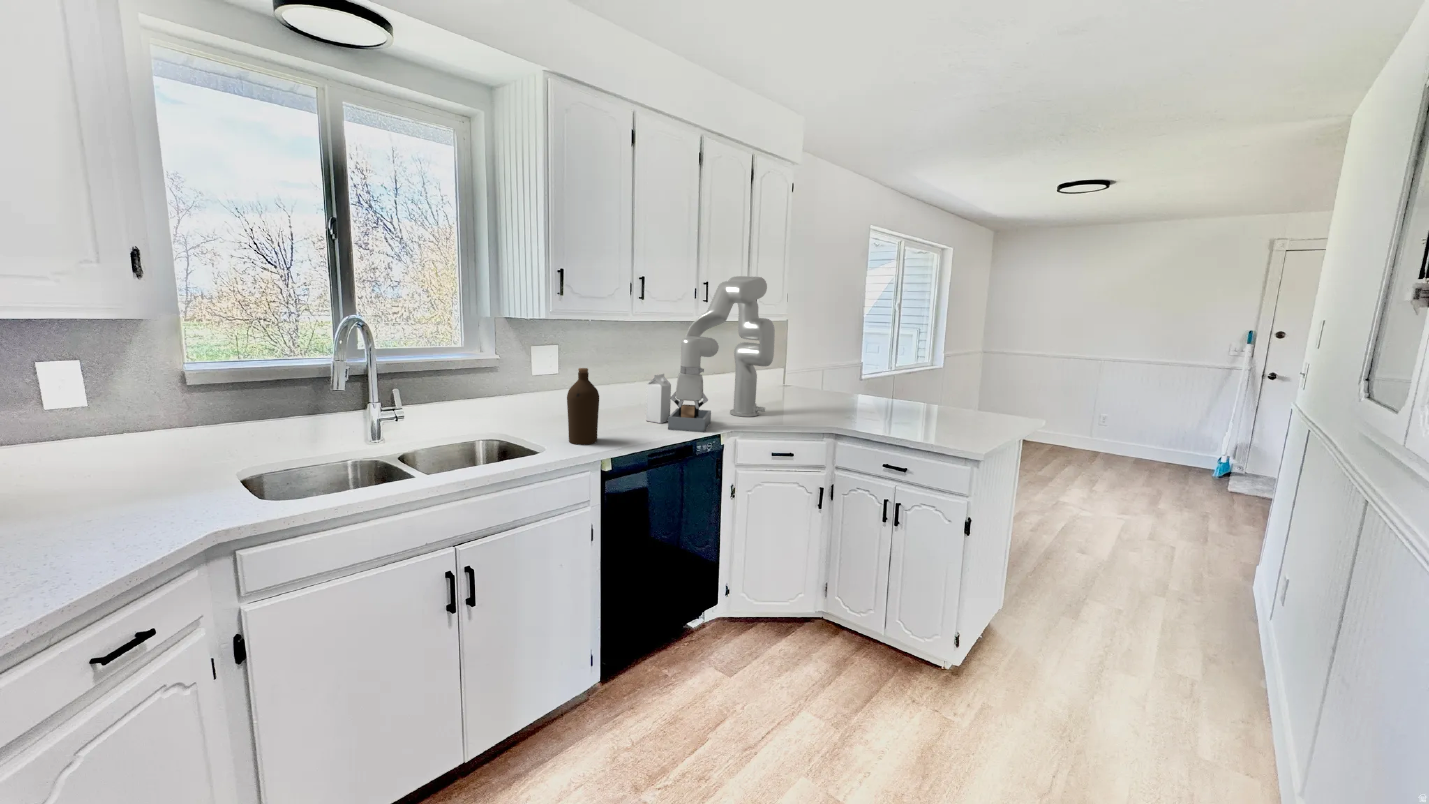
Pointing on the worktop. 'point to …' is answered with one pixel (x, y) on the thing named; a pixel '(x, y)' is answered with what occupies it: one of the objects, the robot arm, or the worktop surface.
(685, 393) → the robot arm
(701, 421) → the tote
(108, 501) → the worktop surface
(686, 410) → the walnut cube
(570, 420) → the olive oil
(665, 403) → the milk carton
